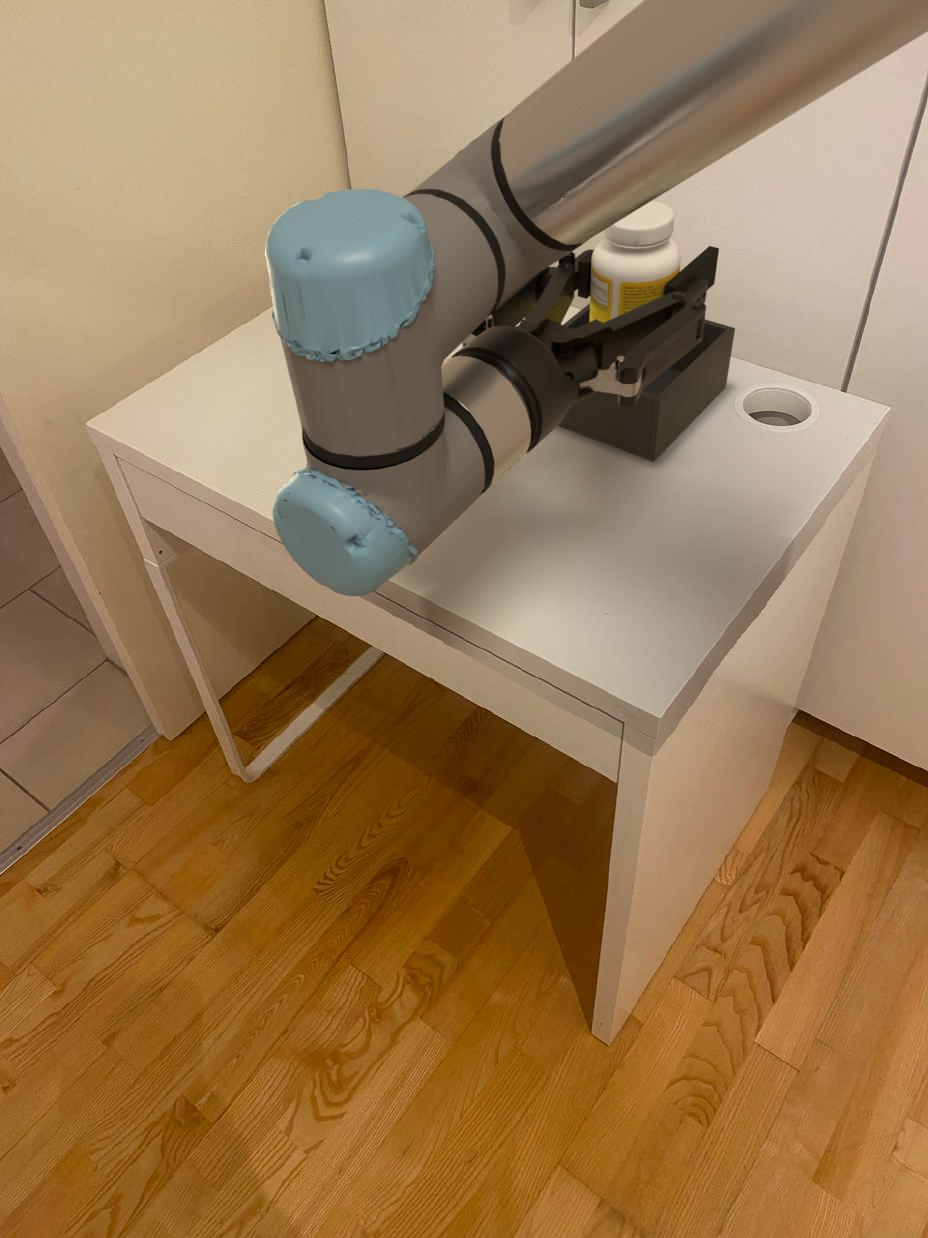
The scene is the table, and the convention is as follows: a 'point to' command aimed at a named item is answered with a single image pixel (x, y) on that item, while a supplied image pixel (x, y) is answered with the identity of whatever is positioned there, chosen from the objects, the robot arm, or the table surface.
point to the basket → (656, 397)
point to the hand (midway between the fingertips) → (668, 254)
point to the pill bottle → (633, 262)
